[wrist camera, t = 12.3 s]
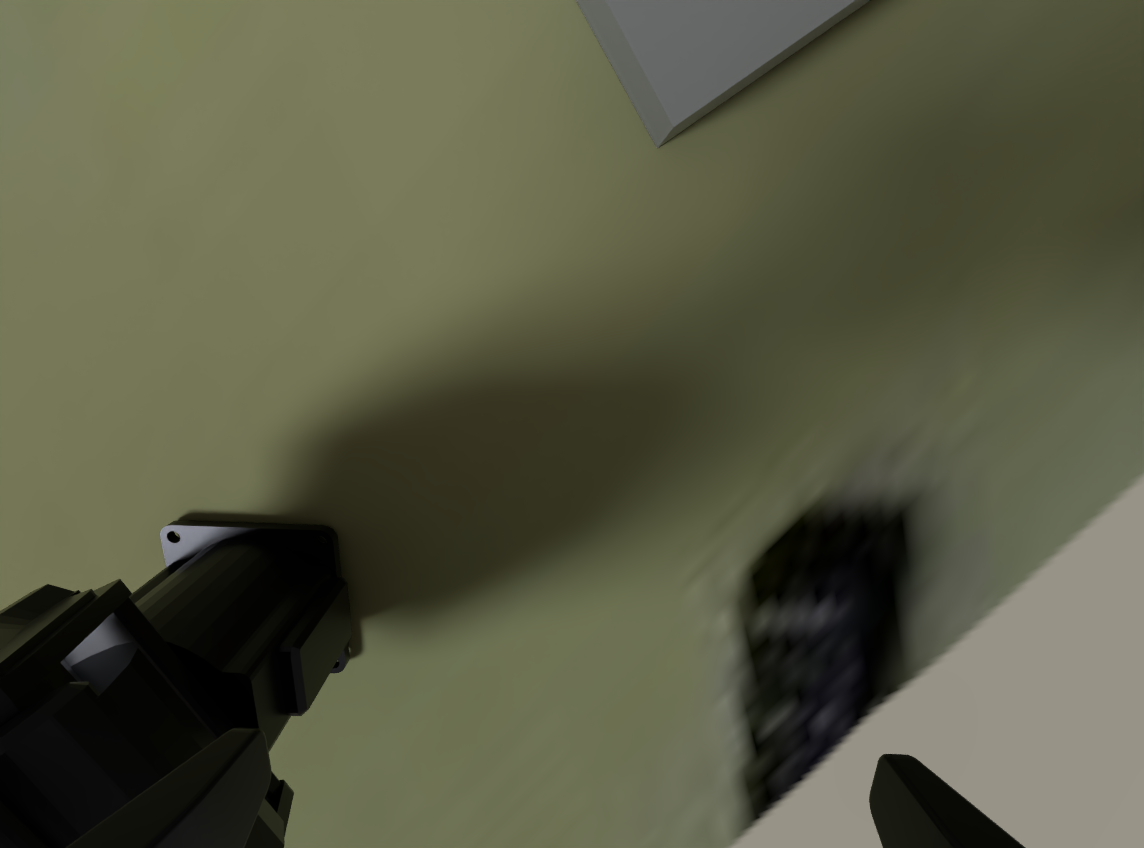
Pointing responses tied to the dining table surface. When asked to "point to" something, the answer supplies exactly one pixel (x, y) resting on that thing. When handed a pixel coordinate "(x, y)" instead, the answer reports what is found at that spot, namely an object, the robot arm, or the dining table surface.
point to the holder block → (701, 49)
